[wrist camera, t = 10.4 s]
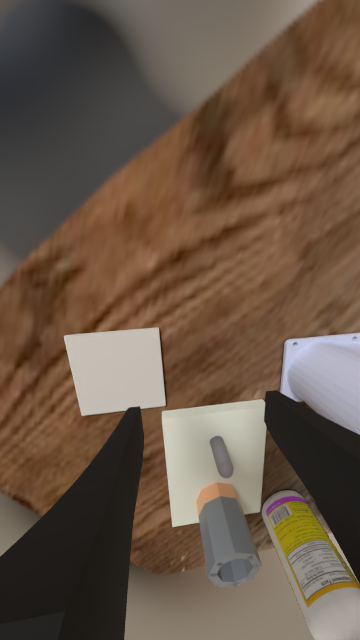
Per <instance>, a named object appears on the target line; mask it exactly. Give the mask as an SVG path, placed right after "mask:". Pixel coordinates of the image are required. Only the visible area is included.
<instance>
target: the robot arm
mask: <svg viewBox="0 0 360 640" xmlns="http://www.w3.org/2000/svg"><path fill="white" fill-rule="evenodd" d="M352 338H353V339H352ZM294 342H295V344H294V345H293V343H294ZM302 401H304V402H305V403H306V404H307V405H309V406H310V407H311V408H312V409H313V410H314V411H315V412H314V411H312V410H311V409H309V408H307V407H305V406H304V405H302V404H300V403H298V402H302ZM264 422H265V424H266V426H267V428H268V430H269V432H270V434H271V436H272V437H273V439H274V441H275V442H276V444H277V445H278V447H279V448H280V450H281V451H282V453H283V454H284V456H285V457H286V459H287V460H288V462H289V463H290V465H291V466H292V468H293V469H294V471H295V472H296V473H297V475H298V476H299V478H300V479H301V481H302V482H303V484H304V485H305V487H306V488H307V490H308V492H309V493H310V495H311V496H312V498H313V500H314V501H315V503H316V505H317V507H318V508H319V510H320V512H321V514H322V515H323V517H324V519H325V521H326V522H327V524H328V526H329V528H330V529H331V531H332V533H333V535H334V537H335V539H336V540H337V542H338V544H339V546H340V548H341V549H342V551H343V553H344V555H345V557H346V559H347V561H348V562H349V564H350V566H351V568H352V570H353V572H354V574H355V576H356V578H357V580H358V581H359V583H360V333H351V334H341V335H330V336H319V337H308V338H298V339H289V340H287V341H286V342H285V344H284V355H283V366H282V377H281V388H280V392H278V391H276V390H275V391H266V398H265V412H264ZM143 448H144V432H143V424H142V417H141V409H140V406H137V407H129V408H128V409H127V410H126V412H125V414H124V415H123V417H122V419H121V420H120V422H119V424H118V425H117V427H116V428H115V430H114V431H113V433H112V434H111V436H110V437H109V439H108V440H107V442H106V443H105V444H104V446H103V447H102V449H101V450H100V451H99V453H98V454H97V455H96V457H95V458H94V459H93V461H92V462H91V463H90V464H89V466H88V467H87V468H86V469H85V471H84V472H83V473H82V474H81V475H80V477H79V478H78V479H77V480H76V481H75V482H74V484H73V485H72V486H71V487H70V488H69V489H68V490H67V491H66V492H65V493H64V495H63V496H62V497H61V498H60V499H59V500H58V501H57V502H56V503H55V504H54V505H53V506H52V507H51V509H50V510H49V511H48V512H47V513H46V514H45V515H44V516H43V517H42V518H41V519H40V520H39V521H38V522H36V523H35V524H34V525H33V526H32V527H31V528H30V529H29V530H28V531H27V532H26V533H25V534H24V535H23V536H22V537H21V538H20V539H19V540H18V541H17V542H16V543H15V544H14V545H13V546H11V547H10V548H9V549H8V550H7V551H6V552H5V553H4V554H3V555H2V556H1V557H0V640H124V633H125V618H126V603H127V590H128V577H129V564H130V552H131V540H132V528H133V520H134V512H135V506H136V499H137V493H138V486H139V480H140V474H141V467H142V460H143Z"/></svg>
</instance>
